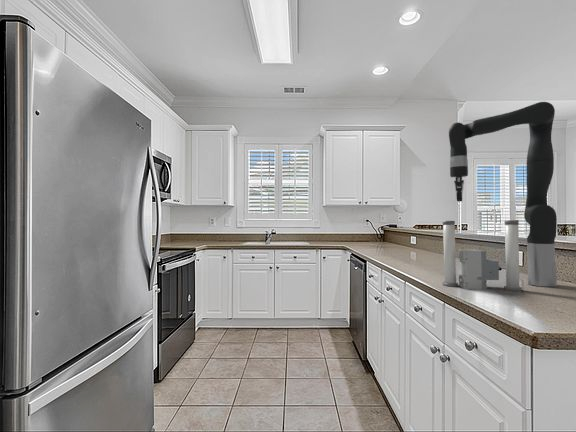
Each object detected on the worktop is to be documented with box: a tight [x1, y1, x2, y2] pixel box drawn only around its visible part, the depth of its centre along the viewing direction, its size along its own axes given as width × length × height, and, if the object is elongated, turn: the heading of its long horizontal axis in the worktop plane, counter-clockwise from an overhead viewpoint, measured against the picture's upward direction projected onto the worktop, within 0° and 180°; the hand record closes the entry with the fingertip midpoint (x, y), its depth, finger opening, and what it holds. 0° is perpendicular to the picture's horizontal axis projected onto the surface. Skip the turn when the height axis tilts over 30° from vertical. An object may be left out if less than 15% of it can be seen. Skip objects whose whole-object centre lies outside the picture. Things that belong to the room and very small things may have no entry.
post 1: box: [442, 220, 460, 288], centre depth 146 cm, size 6×6×27 cm
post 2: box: [503, 219, 523, 292], centre depth 135 cm, size 6×6×27 cm
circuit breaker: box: [457, 249, 503, 290], centre depth 140 cm, size 8×14×15 cm, turn 78°
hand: (459, 201), depth 163 cm, fingers open, 8 cm apart
